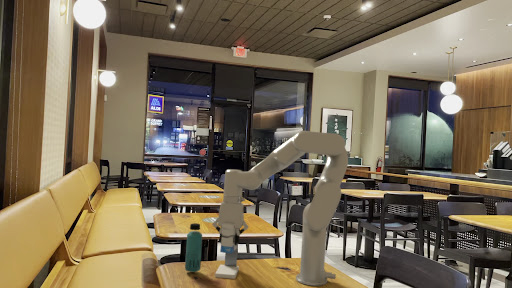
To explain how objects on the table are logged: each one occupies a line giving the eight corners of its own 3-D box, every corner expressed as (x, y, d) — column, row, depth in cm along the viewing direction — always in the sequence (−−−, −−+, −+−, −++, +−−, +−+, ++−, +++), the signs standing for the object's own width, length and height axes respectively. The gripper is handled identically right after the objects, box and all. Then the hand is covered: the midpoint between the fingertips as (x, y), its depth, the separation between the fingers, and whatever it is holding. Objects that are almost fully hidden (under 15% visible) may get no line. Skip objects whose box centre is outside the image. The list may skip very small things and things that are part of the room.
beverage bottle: (186, 276, 156) (189, 225, 156) (182, 270, 162) (185, 222, 162) (202, 274, 158) (205, 225, 158) (198, 269, 165) (200, 221, 164)
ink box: (231, 254, 157) (233, 224, 156) (219, 252, 158) (221, 223, 157) (237, 248, 165) (239, 220, 165) (225, 247, 166) (227, 219, 166)
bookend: (236, 266, 167) (237, 242, 167) (236, 266, 166) (237, 243, 166) (224, 265, 168) (226, 241, 168) (224, 265, 167) (226, 242, 167)
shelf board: (238, 269, 167) (238, 266, 167) (234, 278, 156) (235, 275, 156) (220, 268, 168) (220, 264, 168) (215, 277, 157) (215, 273, 157)
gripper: (253, 200, 164) (250, 243, 164) (213, 196, 166) (210, 239, 166) (252, 203, 157) (248, 248, 157) (210, 199, 158) (206, 244, 158)
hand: (229, 243), depth 161 cm, fingers closed on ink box, 5 cm apart
